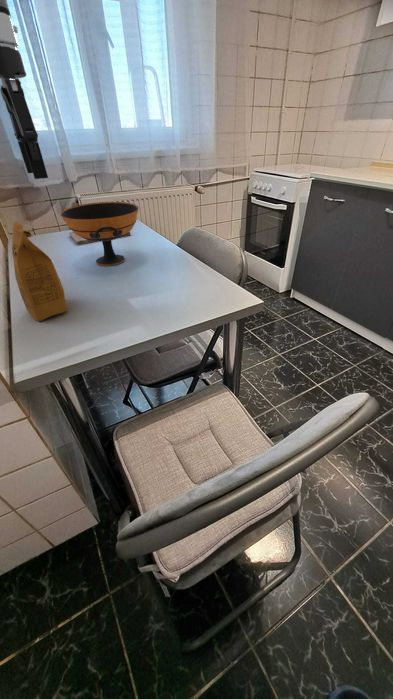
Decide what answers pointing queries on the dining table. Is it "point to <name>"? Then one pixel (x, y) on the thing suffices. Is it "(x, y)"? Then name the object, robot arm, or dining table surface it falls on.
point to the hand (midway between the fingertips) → (37, 175)
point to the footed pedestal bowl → (102, 225)
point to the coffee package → (36, 277)
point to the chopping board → (81, 240)
